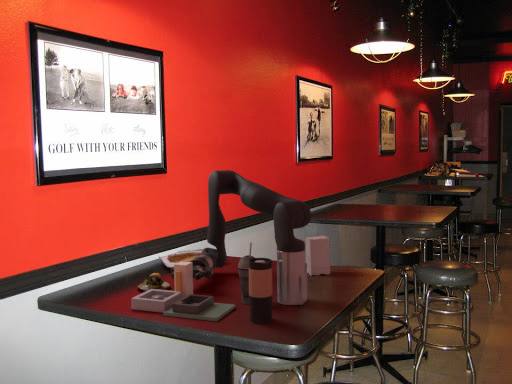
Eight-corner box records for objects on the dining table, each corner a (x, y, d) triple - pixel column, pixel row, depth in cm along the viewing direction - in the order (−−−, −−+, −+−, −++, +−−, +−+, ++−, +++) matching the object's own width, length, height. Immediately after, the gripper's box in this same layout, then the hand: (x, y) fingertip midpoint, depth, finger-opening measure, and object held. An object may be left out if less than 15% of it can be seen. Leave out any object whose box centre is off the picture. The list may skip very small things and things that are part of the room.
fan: (201, 298, 182) (201, 288, 182) (175, 314, 165) (175, 302, 165) (160, 294, 187) (160, 284, 187) (131, 309, 171) (131, 298, 170)
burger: (130, 290, 194) (130, 270, 194) (157, 283, 203) (156, 264, 202) (150, 296, 186) (150, 275, 186) (177, 289, 195) (176, 269, 194)
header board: (235, 307, 170) (235, 297, 170) (216, 321, 157) (216, 309, 157) (185, 302, 177) (184, 292, 176) (163, 315, 164) (162, 304, 163)
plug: (193, 296, 184) (192, 262, 183) (184, 301, 178) (183, 266, 177) (181, 295, 185) (181, 261, 184) (172, 300, 179) (171, 265, 178)
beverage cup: (247, 297, 181) (246, 239, 180) (264, 301, 177) (263, 241, 175) (233, 302, 176) (232, 242, 174) (250, 306, 171) (249, 245, 169)
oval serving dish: (235, 262, 238) (200, 254, 253) (234, 253, 238) (200, 246, 253) (178, 277, 215) (144, 268, 230) (178, 267, 214) (144, 258, 230)
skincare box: (325, 271, 218) (325, 235, 216) (330, 274, 212) (330, 237, 211) (305, 272, 216) (305, 236, 215) (310, 276, 210) (310, 238, 209)
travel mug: (253, 315, 162) (252, 257, 161) (275, 317, 160) (274, 258, 159) (246, 323, 155) (245, 261, 154) (269, 325, 153) (268, 263, 152)
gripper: (181, 256, 200) (165, 265, 184) (218, 257, 197) (204, 266, 181) (182, 275, 201) (165, 286, 185) (218, 277, 197) (205, 288, 182)
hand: (185, 276), depth 183 cm, fingers open, 8 cm apart
